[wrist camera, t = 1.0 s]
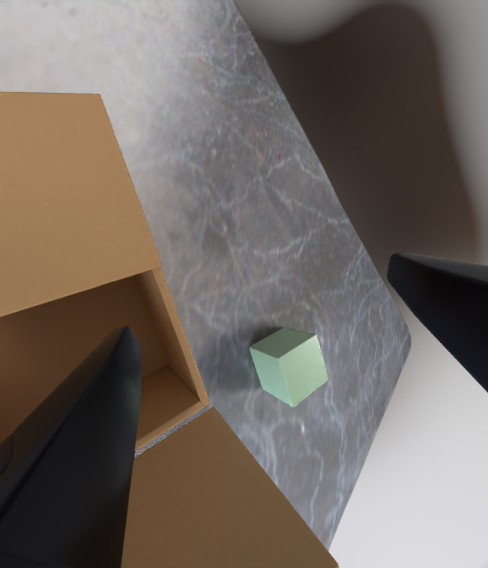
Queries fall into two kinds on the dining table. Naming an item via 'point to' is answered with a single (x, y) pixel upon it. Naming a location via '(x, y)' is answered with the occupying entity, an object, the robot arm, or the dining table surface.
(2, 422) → the carton
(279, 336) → the block
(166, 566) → the flap
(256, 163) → the dining table surface
